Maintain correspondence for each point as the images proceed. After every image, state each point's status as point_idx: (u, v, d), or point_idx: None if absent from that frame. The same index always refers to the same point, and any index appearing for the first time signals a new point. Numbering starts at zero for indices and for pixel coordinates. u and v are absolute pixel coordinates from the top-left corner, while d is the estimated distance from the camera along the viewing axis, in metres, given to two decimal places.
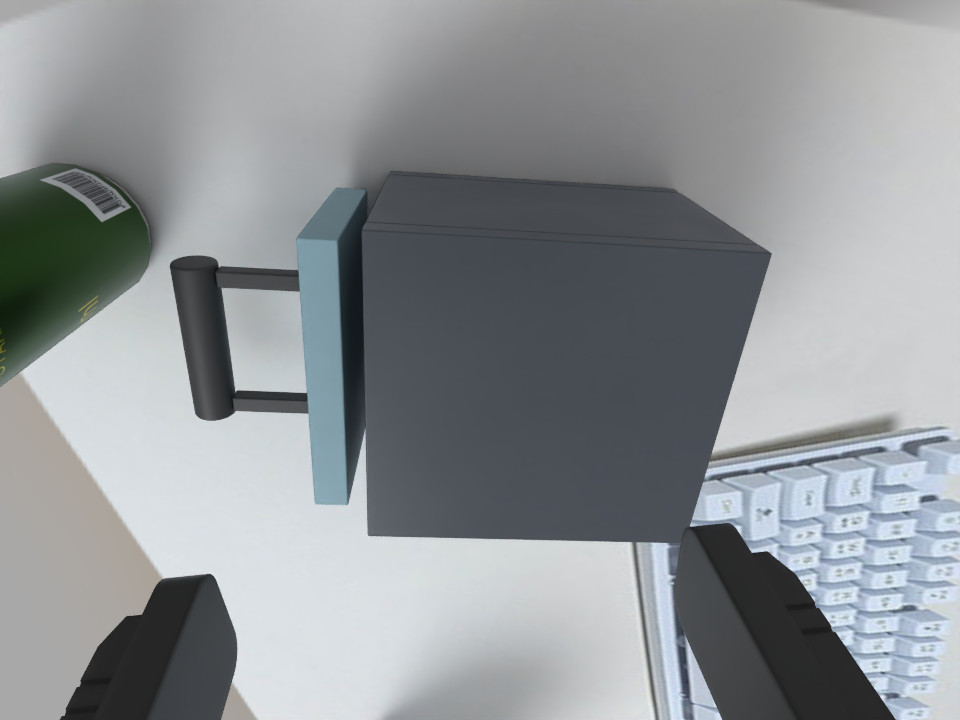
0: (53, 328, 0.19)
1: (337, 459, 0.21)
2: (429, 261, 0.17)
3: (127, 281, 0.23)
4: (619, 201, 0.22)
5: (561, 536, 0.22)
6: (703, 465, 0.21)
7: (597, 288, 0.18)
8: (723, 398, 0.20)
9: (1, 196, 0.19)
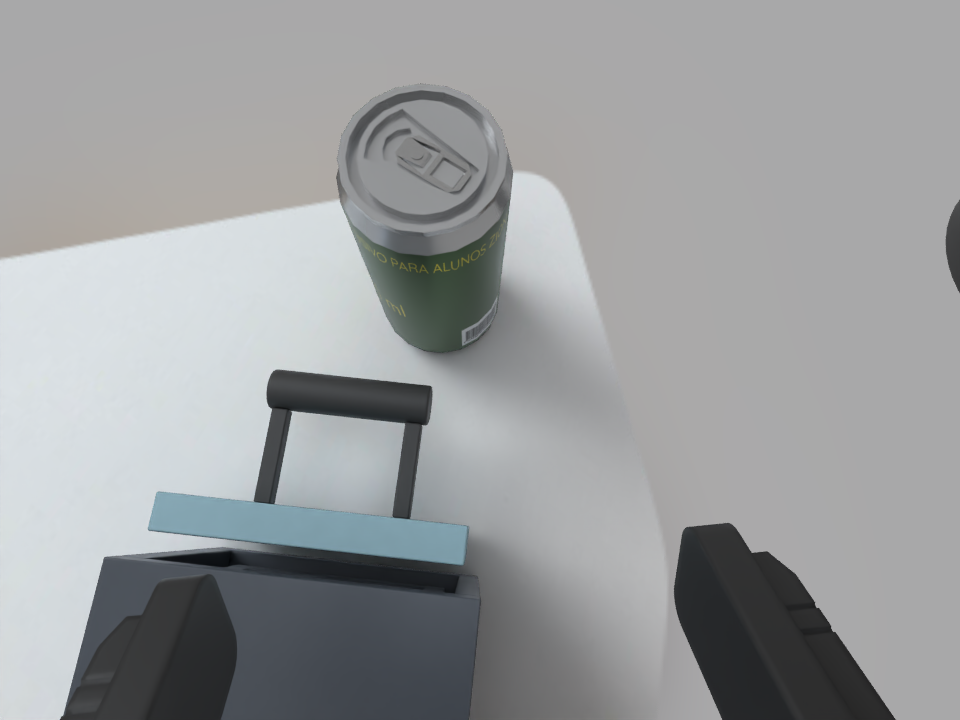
0: (396, 291, 0.21)
1: (214, 527, 0.19)
2: (445, 666, 0.17)
3: (403, 331, 0.26)
4: None
5: None
6: None
7: None
8: None
9: (498, 277, 0.24)
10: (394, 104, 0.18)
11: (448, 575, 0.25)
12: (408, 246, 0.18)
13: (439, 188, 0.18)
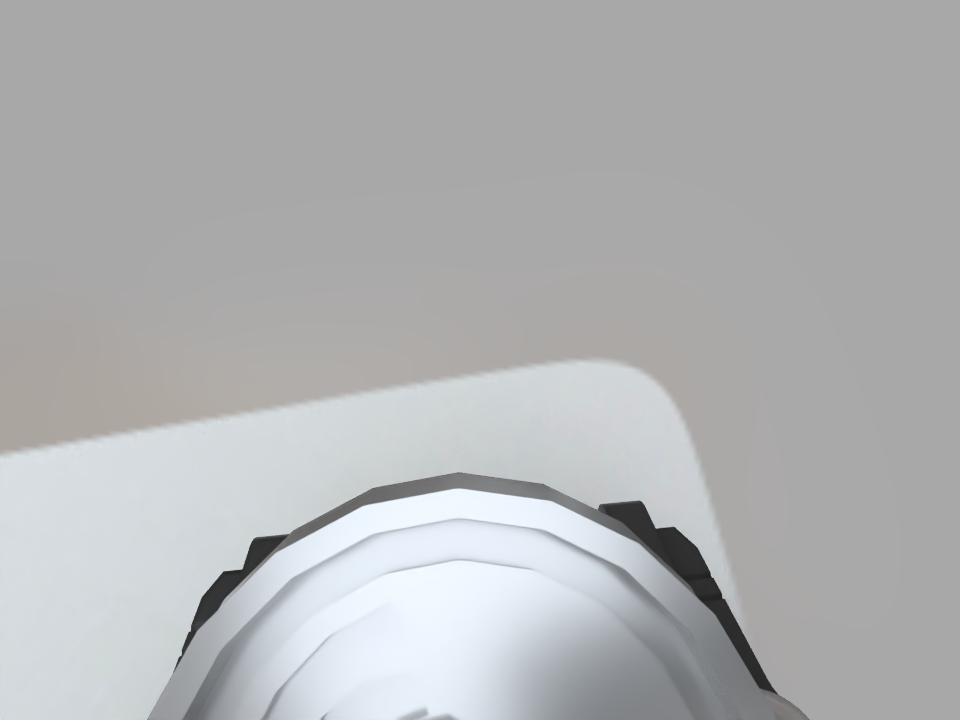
0: None
1: None
2: None
3: None
4: None
5: None
6: None
7: None
8: None
9: None
10: (361, 544, 0.05)
11: None
12: None
13: None
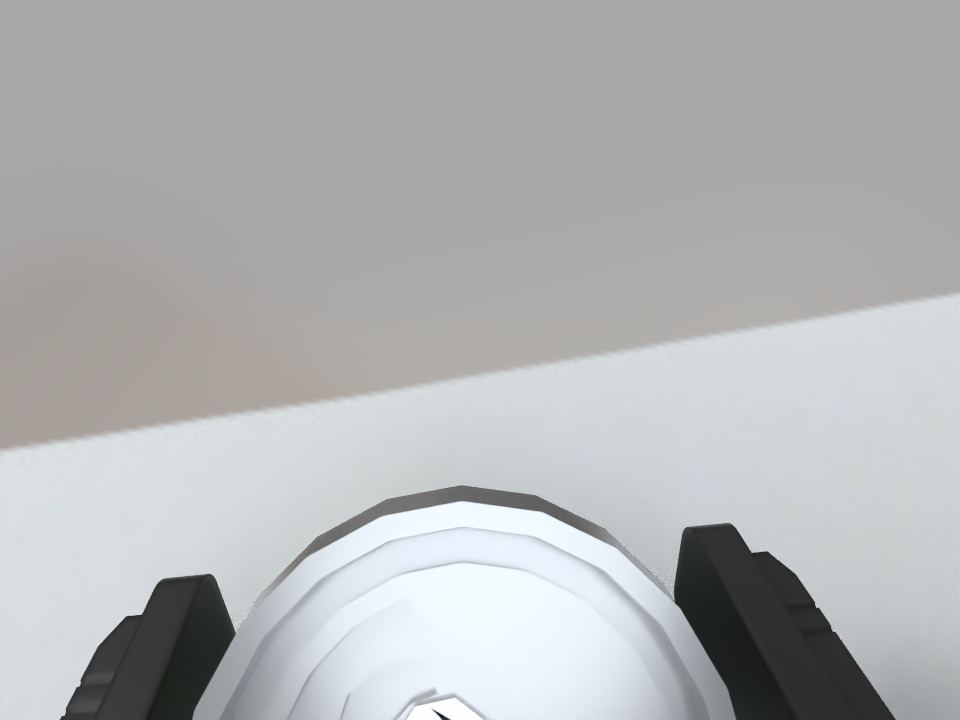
0: None
1: None
2: None
3: None
4: None
5: None
6: None
7: None
8: None
9: None
10: (378, 549, 0.06)
11: None
12: None
13: None
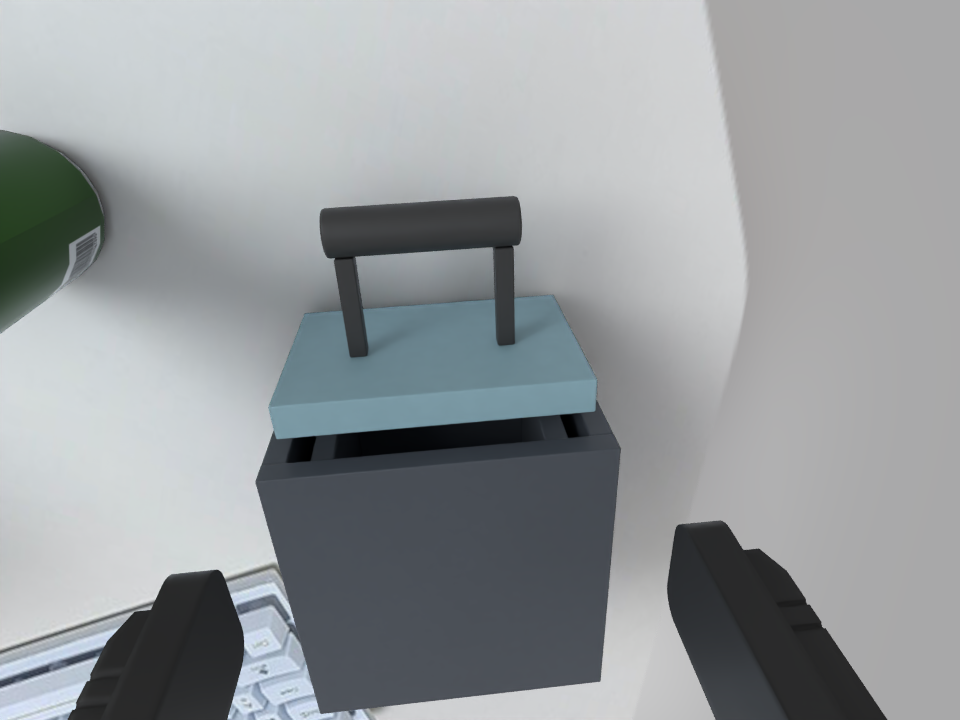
0: None
1: (342, 426, 0.18)
2: (592, 497, 0.20)
3: None
4: None
5: (304, 635, 0.21)
6: (411, 700, 0.24)
7: (571, 602, 0.22)
8: (479, 693, 0.24)
9: (30, 273, 0.18)
10: None
11: None
12: None
13: None
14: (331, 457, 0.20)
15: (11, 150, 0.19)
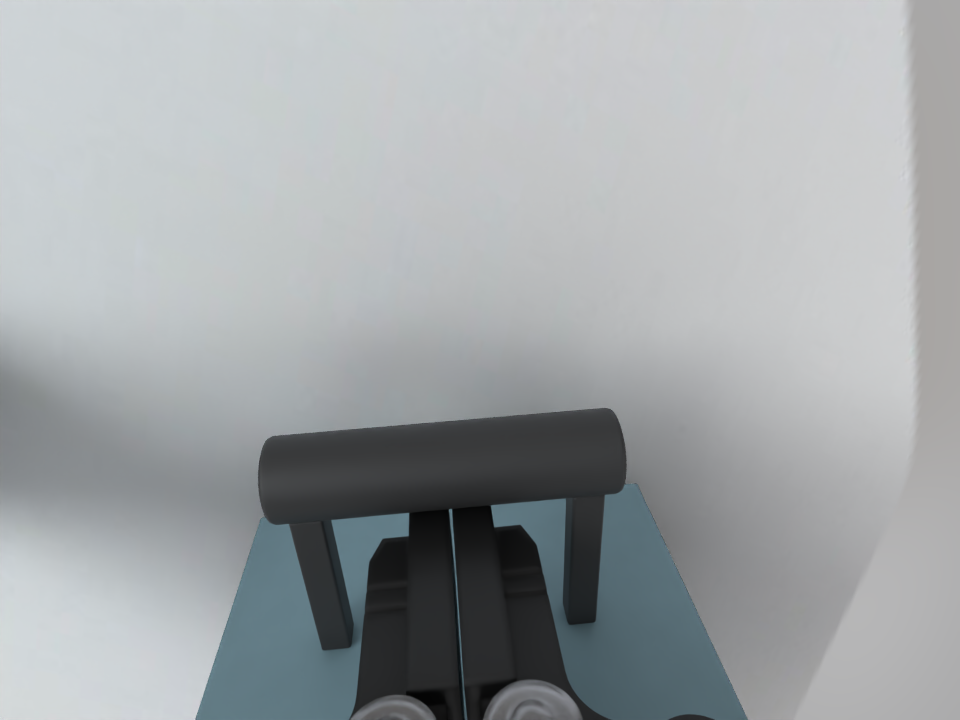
0: None
1: None
2: None
3: None
4: None
5: None
6: None
7: None
8: None
9: None
10: None
11: None
12: None
13: None
14: None
15: None
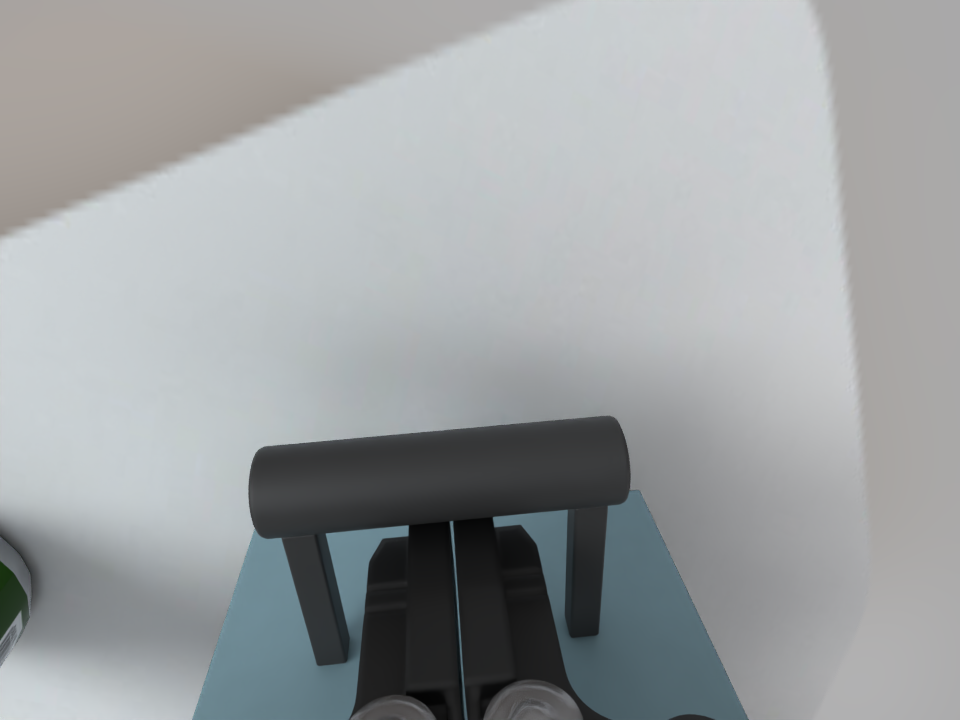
0: None
1: None
2: None
3: None
4: None
5: None
6: None
7: None
8: None
9: None
10: None
11: None
12: None
13: None
14: None
15: None
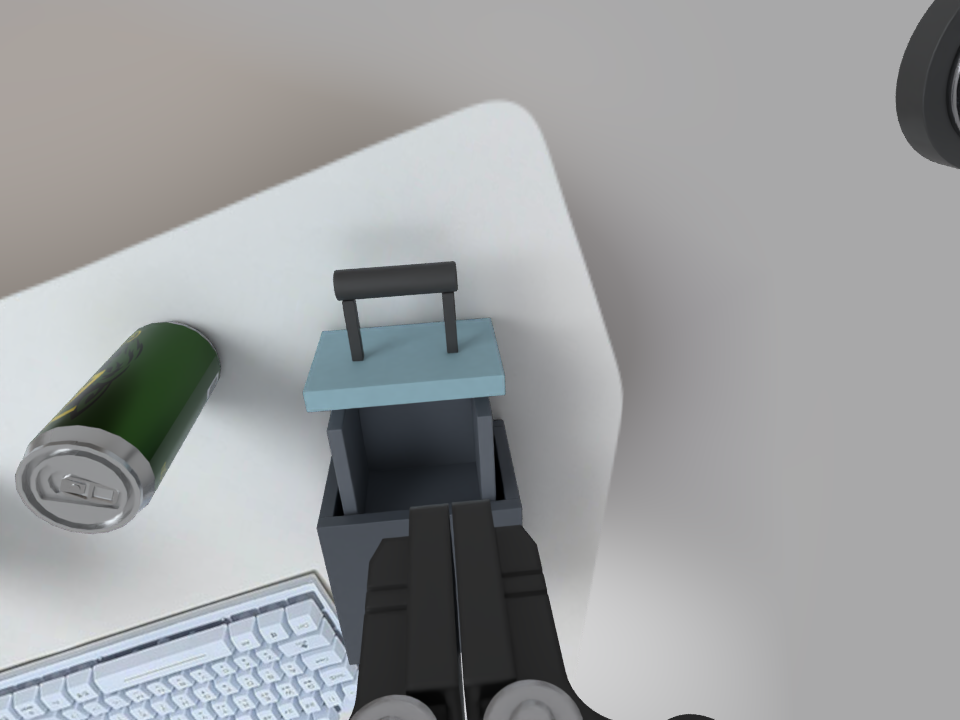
0: None
1: (347, 404, 0.30)
2: None
3: None
4: None
5: (341, 615, 0.36)
6: None
7: None
8: None
9: (194, 415, 0.32)
10: None
11: None
12: None
13: (102, 502, 0.27)
14: (341, 424, 0.31)
15: (177, 340, 0.33)
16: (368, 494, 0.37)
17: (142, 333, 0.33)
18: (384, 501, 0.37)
